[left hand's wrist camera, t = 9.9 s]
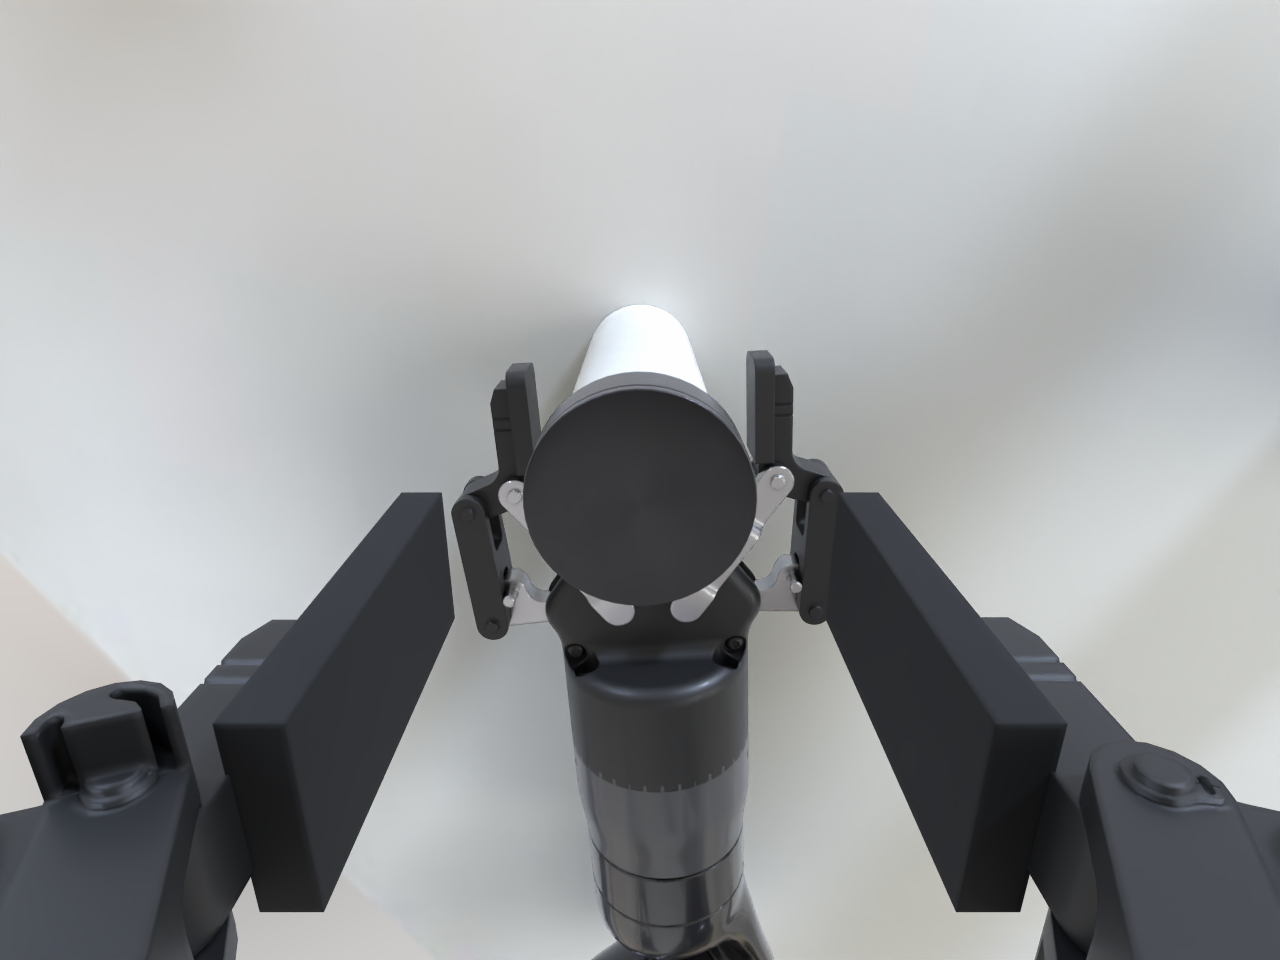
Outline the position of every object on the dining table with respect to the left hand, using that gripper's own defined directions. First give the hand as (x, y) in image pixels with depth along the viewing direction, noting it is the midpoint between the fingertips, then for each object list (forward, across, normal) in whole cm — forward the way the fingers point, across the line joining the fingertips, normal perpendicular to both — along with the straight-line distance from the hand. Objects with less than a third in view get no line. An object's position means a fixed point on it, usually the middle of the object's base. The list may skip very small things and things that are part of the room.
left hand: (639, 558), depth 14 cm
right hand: (+13, 0, -1) cm, 13 cm away
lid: (+3, 0, 0) cm, 3 cm away
